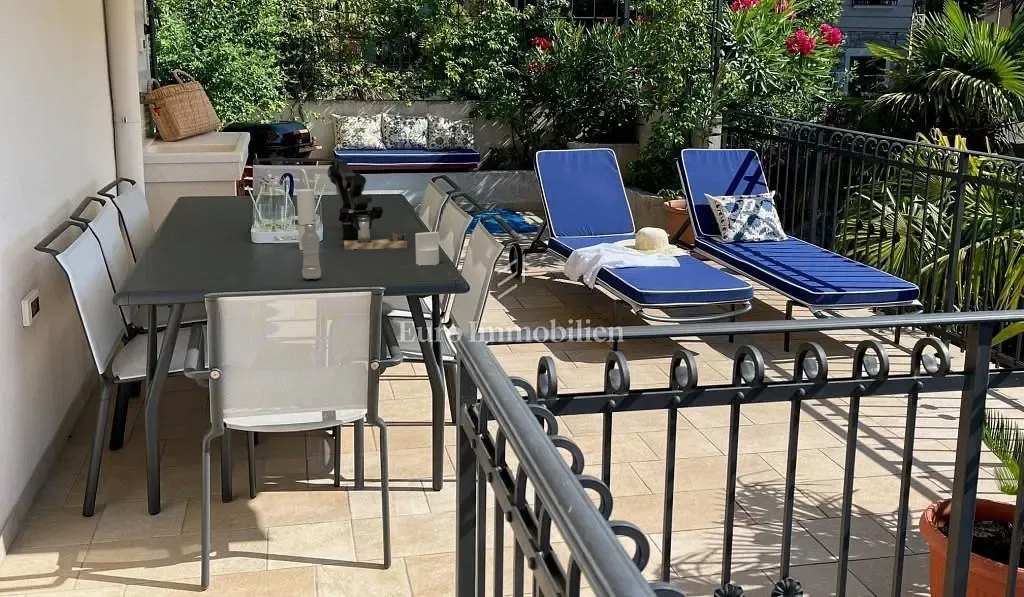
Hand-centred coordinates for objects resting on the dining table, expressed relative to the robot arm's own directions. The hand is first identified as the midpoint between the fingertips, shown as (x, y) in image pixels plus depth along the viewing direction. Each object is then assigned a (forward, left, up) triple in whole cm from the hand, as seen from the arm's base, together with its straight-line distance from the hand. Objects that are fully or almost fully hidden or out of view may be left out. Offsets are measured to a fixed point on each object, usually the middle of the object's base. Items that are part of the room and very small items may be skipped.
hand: (364, 229), depth 424 cm
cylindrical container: (-24, 0, -8) cm, 25 cm away
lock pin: (+14, +1, -5) cm, 15 cm away
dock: (+4, +1, -8) cm, 9 cm away
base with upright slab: (+22, -38, -8) cm, 45 cm away
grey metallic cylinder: (0, +1, -7) cm, 7 cm away
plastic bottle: (-22, -60, -8) cm, 64 cm away
